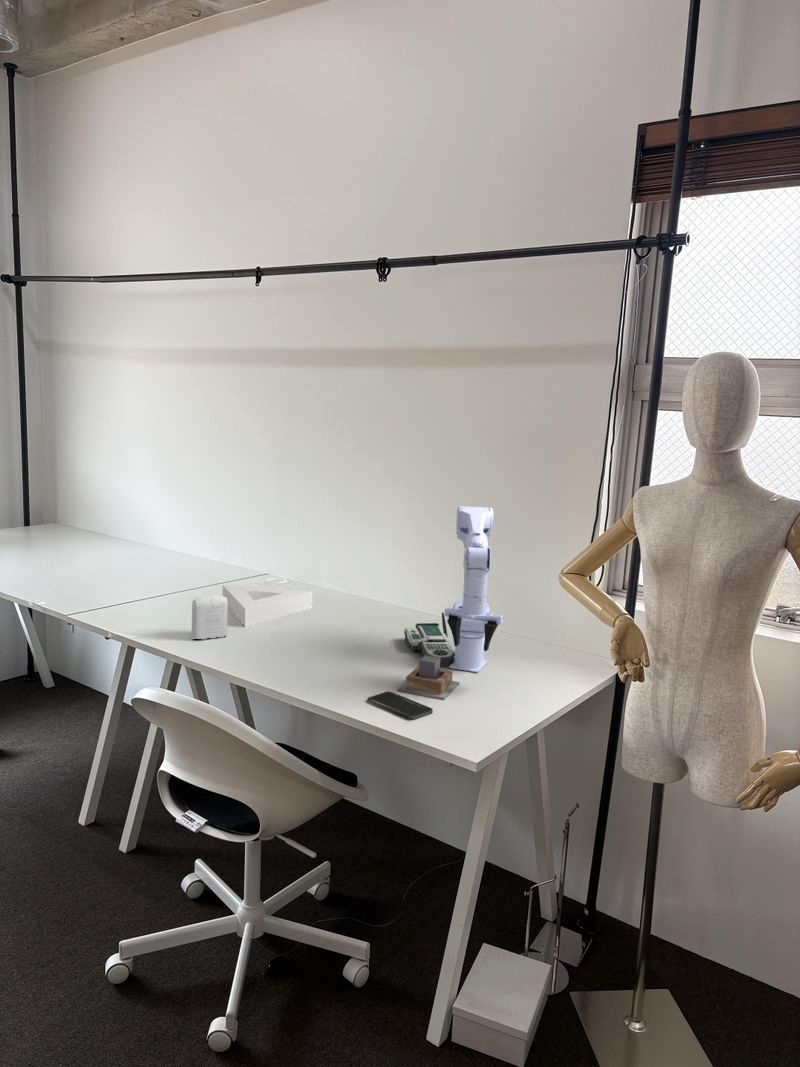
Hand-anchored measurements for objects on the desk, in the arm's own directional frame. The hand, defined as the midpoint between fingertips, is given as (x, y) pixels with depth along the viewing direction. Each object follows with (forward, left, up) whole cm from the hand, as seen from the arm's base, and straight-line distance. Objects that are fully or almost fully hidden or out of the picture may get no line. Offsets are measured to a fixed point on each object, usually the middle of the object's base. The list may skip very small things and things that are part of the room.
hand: (471, 647), depth 211 cm
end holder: (+8, -8, -9) cm, 15 cm away
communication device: (-18, -17, -10) cm, 27 cm away
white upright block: (0, -77, -10) cm, 78 cm away
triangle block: (-26, -77, -10) cm, 82 cm away
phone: (+23, -10, -10) cm, 27 cm away
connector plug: (+8, -8, -9) cm, 14 cm away
